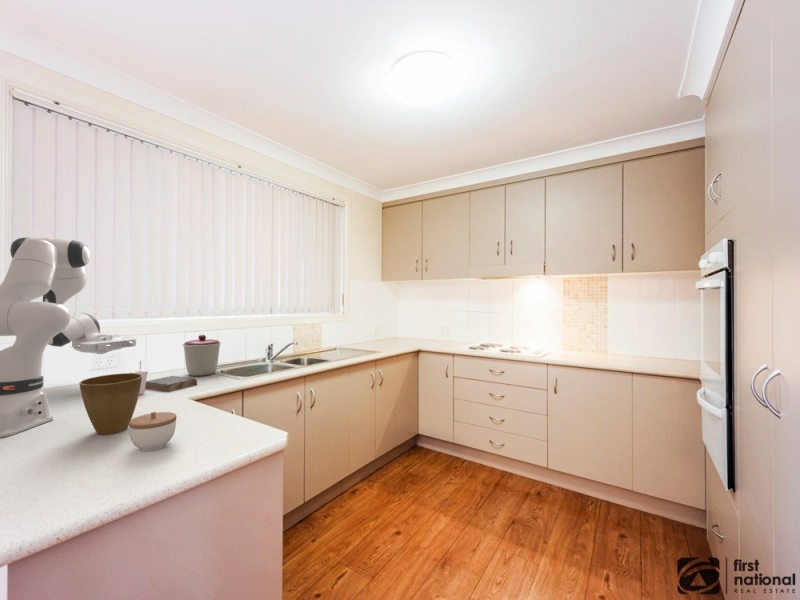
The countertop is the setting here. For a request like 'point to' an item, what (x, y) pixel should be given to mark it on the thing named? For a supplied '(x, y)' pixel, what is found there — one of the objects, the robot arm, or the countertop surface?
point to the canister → (201, 356)
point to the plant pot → (111, 401)
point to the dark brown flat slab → (170, 383)
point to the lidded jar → (152, 430)
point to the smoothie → (144, 377)
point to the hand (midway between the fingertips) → (120, 345)
